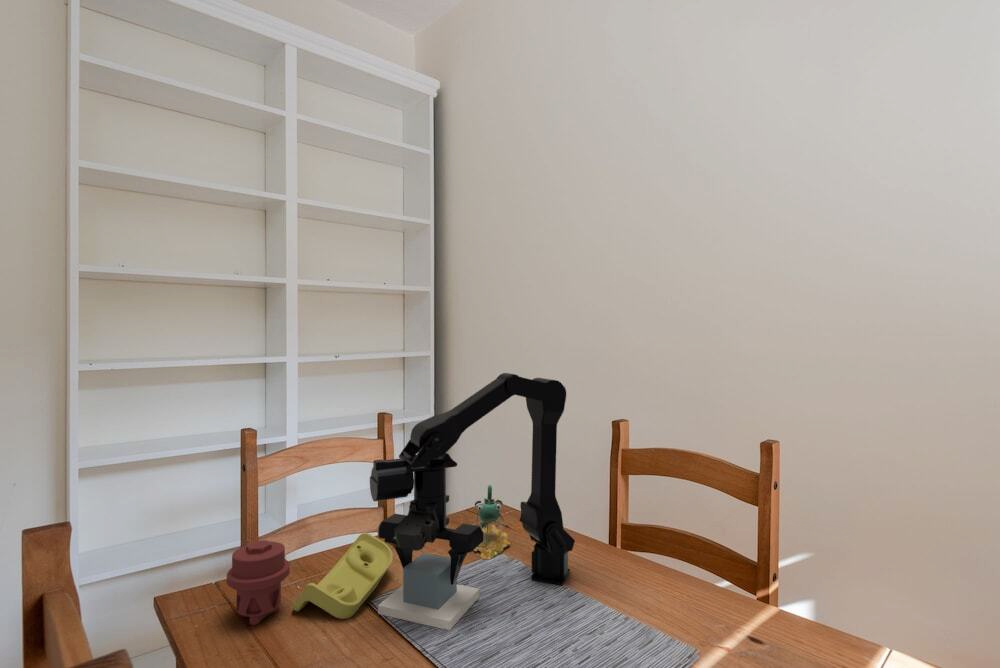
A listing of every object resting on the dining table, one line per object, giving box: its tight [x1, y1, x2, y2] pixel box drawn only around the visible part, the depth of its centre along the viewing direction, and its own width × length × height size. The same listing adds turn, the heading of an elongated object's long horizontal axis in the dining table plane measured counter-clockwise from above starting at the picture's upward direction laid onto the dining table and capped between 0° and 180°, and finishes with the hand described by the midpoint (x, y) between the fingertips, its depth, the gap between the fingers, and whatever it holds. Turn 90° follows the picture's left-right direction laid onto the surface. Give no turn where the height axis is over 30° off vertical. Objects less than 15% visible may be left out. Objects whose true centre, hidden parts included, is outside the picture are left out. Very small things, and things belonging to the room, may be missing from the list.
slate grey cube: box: [402, 552, 458, 610], centre depth 96 cm, size 7×7×6 cm
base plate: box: [377, 583, 480, 631], centre depth 96 cm, size 14×12×4 cm
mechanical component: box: [226, 539, 291, 626], centre depth 93 cm, size 12×10×10 cm
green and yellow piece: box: [473, 484, 511, 560], centre depth 124 cm, size 10×18×15 cm, turn 177°
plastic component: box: [291, 531, 394, 620], centre depth 102 cm, size 20×8×10 cm
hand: (430, 579), depth 96 cm, fingers open, 9 cm apart
